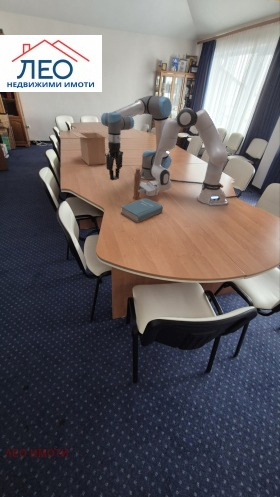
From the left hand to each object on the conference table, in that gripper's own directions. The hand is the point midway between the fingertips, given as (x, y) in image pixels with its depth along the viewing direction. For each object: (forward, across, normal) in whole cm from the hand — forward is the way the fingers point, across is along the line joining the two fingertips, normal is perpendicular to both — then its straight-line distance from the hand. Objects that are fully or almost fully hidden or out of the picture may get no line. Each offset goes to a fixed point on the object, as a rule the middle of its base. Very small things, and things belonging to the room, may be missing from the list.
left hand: (114, 179), depth 150 cm
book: (+16, +1, -26) cm, 31 cm away
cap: (-1, 0, 0) cm, 1 cm away
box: (+16, +50, +89) cm, 103 cm away
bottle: (+16, +16, -6) cm, 24 cm away
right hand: (+9, +16, -6) cm, 19 cm away
